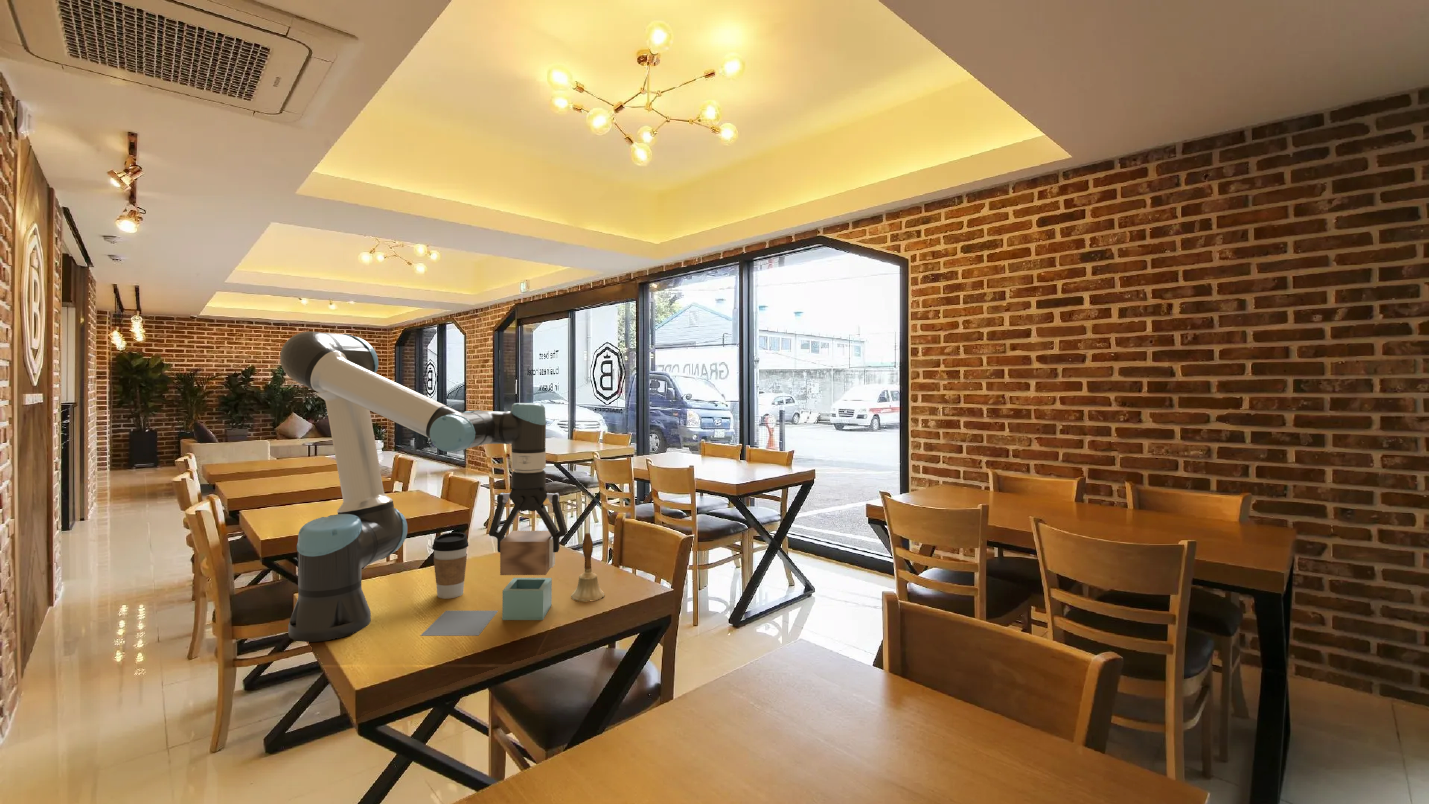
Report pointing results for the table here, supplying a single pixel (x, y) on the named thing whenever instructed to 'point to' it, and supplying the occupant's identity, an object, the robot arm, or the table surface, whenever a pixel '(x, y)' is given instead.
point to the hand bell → (587, 576)
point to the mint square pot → (527, 599)
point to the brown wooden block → (525, 553)
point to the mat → (460, 623)
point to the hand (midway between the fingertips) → (528, 566)
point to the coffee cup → (450, 563)
